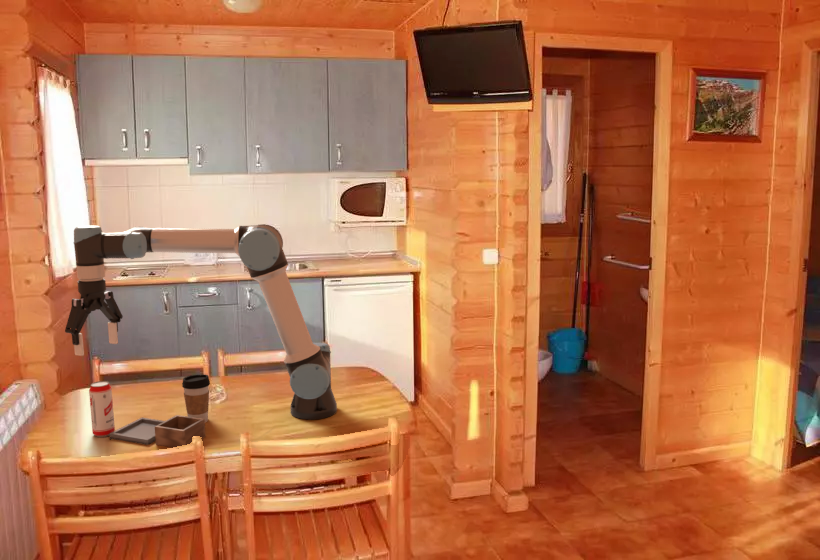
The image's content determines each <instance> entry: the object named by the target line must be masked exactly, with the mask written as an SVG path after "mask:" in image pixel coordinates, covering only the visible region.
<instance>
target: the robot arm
mask: <svg viewBox="0 0 820 560" xmlns="http://www.w3.org/2000/svg"><path fill="white" fill-rule="evenodd" d="M73 247H74V255H75V267H76V278H77V279H78V280H77V291H78V293H79V294H80V298H72V299H71V309H70V311H69V315H68V318H67V322H66V325H65V330H64V332H65V333H66V334H70V335H71V342H72V346H73V349H74V355H75V356H80V357H84V356H85V350H84V337H83V333H81V331H82V328H83V327H84V324H85V322H86V321H87V318H88V316H89V315H90V314H92V312H94V311H96V310H98V311H99V310H100V312H101V313H102V314H103V315H104V316H105V317H106V319H108V322H107V329H108V330H107V331H108V333H107V334H108V342H109V344H111V345H117V344H119V339H118V337H119V335H118V332H119V325H118V324H119V323H121V321H122V319H123V317H124V316H123V314H122V312H121V310H120V308H119V305H118V304H117V302H116V299H115V298H114V292H113V291H111V290H107V286H106V285H107V284H106V281H107V280H106V279H105V277H106V271H105V268H106V267H105V261H104V260H105V259H107V260H108V259H131V260H133V259H134V260H135V259H142V258H144V257H145V256H146V254H147V253H184V254H185V253H186V254H188V253H190V254H191V253H192V254H195V253H196V254H236V255H237V256H238V257H239V258H240V260H241V262H242V264H244V265H245V266H246V268H247V271H248V274H249V275H250V278H251V279H253V280H254V281H256V282H258V285H259V287H260V290H261V293H262V294H263V298H264V300H265V302H266V305H267V307H268V310H269V313H270V315H271V318H272V320H273V323H274V325H275V328H276V331H277V333H278V334H277V335H278V336H279V338H280V342H281V344H282V346H283V349H284V351H285V353H286V355H285V358H284V359H283V363H284V364H285V365H284V366H285V368H286V370H287V373H288V375H289V386H290V388H291V390H292V392H293V393H294V394H293V397H292V399H291V400H292V401H291V403H290V408H289V409H290V414H291V416H292V417H295V418H297V419H301V420H320V419H325V418H330V417H331V416H333V415H336V413H337V411H338V408H337V407H338V405H337V401H336V399H335V398H336V397H335V395H334V392H333V390H332V377H331V376H332V372H331V369H332V368H331V353H332V351H331V346H330V345H329V344H328V343H326V342H313V341H312V340H313V339H312V337H311V334H310V331H309V330H308V327H307V325H306V321H305V319H304V317H303V314H302V313H303V312H302V311H301V308H300V306H299V302H298V301H297V298H296V296H295V295H296V294H295V292H294V289H293V287H292V285H291V282H290V280H289V277H288V275H287V268H288V266H289V263H288V260H287V257H286V255H285V251H284V249H283V247H284V240H283V237H282V234H281V233H280V231H279V230H278V229H277V228H275V227H274V226H273V225H269V224H263V223H261V224H254V225H239V226H237V227H236V228H185V227H183V228H174V227H173V228H172V227H171V228H170V227H166V228H165V227H163V228H162V227H155V228H154V227H153V228H152V227H151V228H150V227H143V226H134V227H131V228H129V229H127V230H124V231H122V232H103V230H102V227H101V225H100V226H99V225H81V226H76V227H75V228H74V230H73Z"/></svg>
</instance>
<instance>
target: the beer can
mask: <svg viewBox="0 0 820 560" xmlns="http://www.w3.org/2000/svg"><path fill="white" fill-rule="evenodd" d="M88 394H89V395H88V396H89V407H90V418H91V429H92V435H94V436H95V437H97V438H106V437H110V436H109V433H111V432H113V431H115V430H116V427H115V417H114V405H113V404H114V402H113V391H112V386H111V385H110V382H109V381H108V380H107V381H106V380H99V381H94V382H92V383H91V384H90V387H89V389H88Z"/></svg>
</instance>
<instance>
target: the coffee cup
mask: <svg viewBox="0 0 820 560" xmlns="http://www.w3.org/2000/svg"><path fill="white" fill-rule="evenodd" d="M210 385H211V383H210V377H209V375H208V374H191V375H187V376H185V377H183V378H182V383H181V387H182V388H183V396H184V402H185V408H186V409H185V410H186V414H187V417H194V418H201V419H205V423H207V422H208V421H209V405H210V404H209V403H210V400H209V399H210V389H209V386H210Z"/></svg>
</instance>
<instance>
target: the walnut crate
mask: <svg viewBox="0 0 820 560" xmlns="http://www.w3.org/2000/svg"><path fill="white" fill-rule="evenodd" d="M163 421H164V422H162V423H160V424H159V425H157V426H155V440H156V441H155V445H156V446H161V447H166V448H167V447H168V448H173V447H177V446H182V445H187V444H190V443H191V442H192V437H193V436H200V437H202V439H204V438H206V425H205V424H206V422H205V419H201V418H194V417H188V415H187V416H185V415H180V414H176V415H174V416H172V417H170V418H168V419H167V420H163ZM181 429H182V430H181Z"/></svg>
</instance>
